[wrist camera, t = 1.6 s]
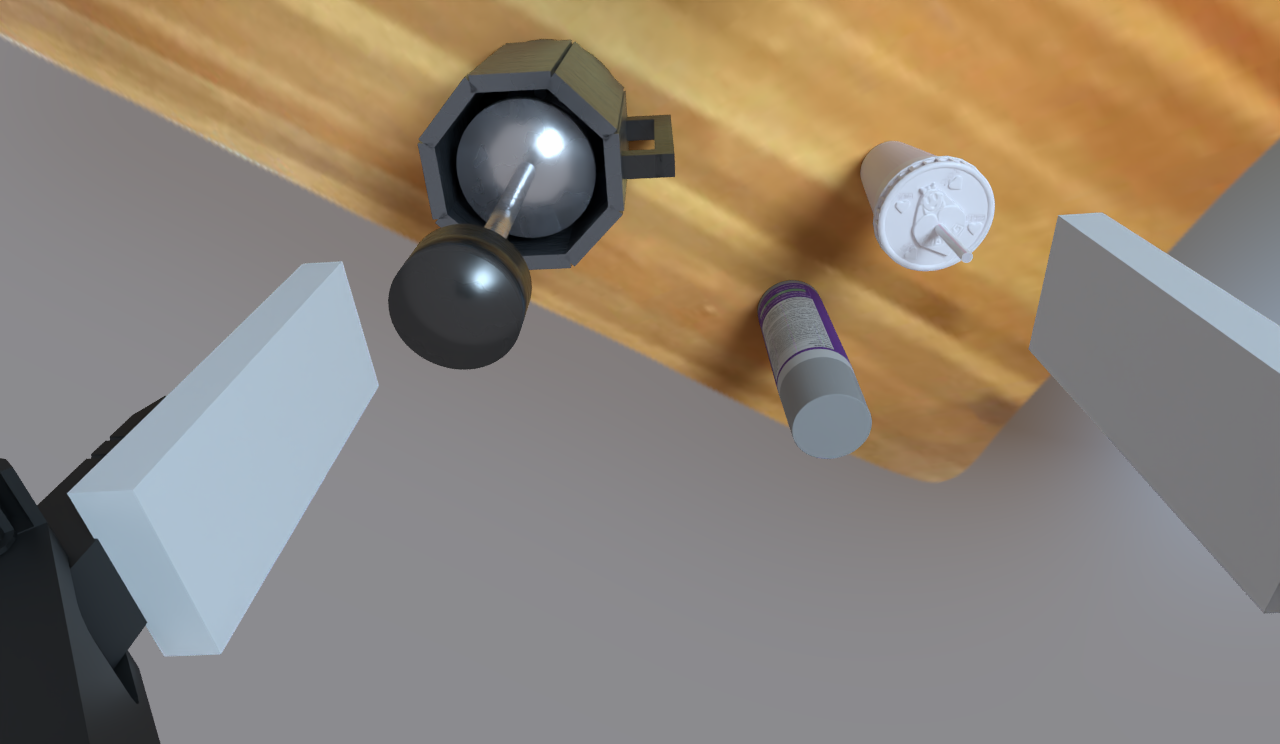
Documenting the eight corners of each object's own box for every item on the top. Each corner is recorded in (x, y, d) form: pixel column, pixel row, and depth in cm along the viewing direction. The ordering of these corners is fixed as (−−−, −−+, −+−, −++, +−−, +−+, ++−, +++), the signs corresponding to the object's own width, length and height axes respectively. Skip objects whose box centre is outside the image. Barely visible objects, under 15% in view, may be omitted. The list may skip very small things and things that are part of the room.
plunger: (448, 99, 38) (319, 212, 23) (590, 92, 38) (551, 201, 23) (472, 235, 42) (373, 406, 27) (601, 229, 41) (573, 399, 27)
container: (824, 331, 56) (876, 453, 43) (761, 342, 56) (794, 467, 43) (818, 274, 53) (871, 385, 41) (753, 286, 54) (784, 400, 41)
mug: (459, 43, 46) (404, 78, 36) (667, 32, 45) (672, 64, 35) (485, 202, 51) (443, 273, 41) (672, 194, 51) (677, 263, 40)
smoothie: (856, 231, 52) (918, 324, 40) (826, 146, 49) (883, 218, 37) (948, 191, 50) (1042, 276, 38) (923, 101, 47) (1016, 162, 35)
